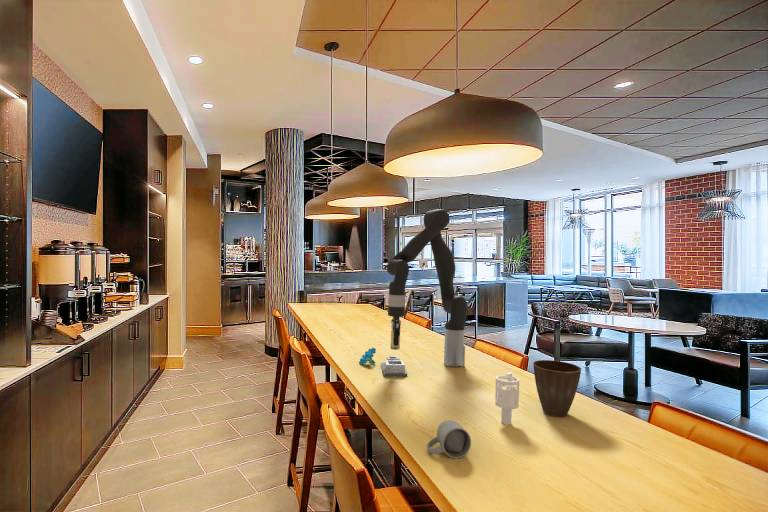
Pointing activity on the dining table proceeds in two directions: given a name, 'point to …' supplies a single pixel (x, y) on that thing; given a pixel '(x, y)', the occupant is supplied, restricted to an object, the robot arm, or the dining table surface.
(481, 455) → the dining table surface
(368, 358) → the gear
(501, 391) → the white stepped cylinder
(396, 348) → the cylinder
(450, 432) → the ceramic mug
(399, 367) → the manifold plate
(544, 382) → the plant pot
